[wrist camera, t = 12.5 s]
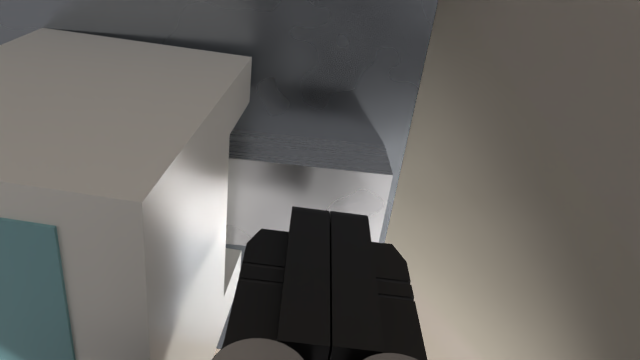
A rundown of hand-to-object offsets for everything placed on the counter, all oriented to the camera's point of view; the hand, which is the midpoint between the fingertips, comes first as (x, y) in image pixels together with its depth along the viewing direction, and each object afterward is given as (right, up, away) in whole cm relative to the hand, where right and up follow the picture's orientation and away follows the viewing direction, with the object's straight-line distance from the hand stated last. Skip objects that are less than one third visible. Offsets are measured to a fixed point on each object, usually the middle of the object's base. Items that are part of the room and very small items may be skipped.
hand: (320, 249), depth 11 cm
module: (-4, +2, +2) cm, 5 cm away
